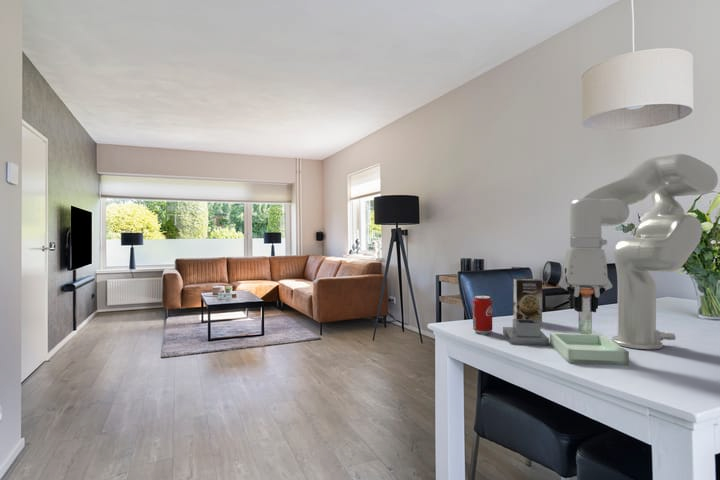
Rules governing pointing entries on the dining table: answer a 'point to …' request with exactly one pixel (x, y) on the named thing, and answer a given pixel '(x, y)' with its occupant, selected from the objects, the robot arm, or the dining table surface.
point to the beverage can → (482, 314)
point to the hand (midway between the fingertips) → (585, 310)
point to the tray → (589, 349)
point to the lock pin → (585, 311)
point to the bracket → (525, 332)
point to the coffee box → (528, 299)
